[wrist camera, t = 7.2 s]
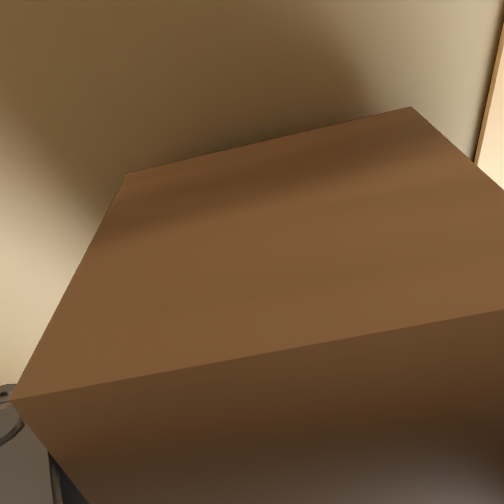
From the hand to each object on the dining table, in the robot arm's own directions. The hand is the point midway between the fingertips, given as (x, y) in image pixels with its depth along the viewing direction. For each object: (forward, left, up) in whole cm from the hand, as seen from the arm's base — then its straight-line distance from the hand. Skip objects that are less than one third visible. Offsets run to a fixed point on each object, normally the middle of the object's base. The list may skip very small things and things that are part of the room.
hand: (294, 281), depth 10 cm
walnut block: (0, 0, -1) cm, 1 cm away
